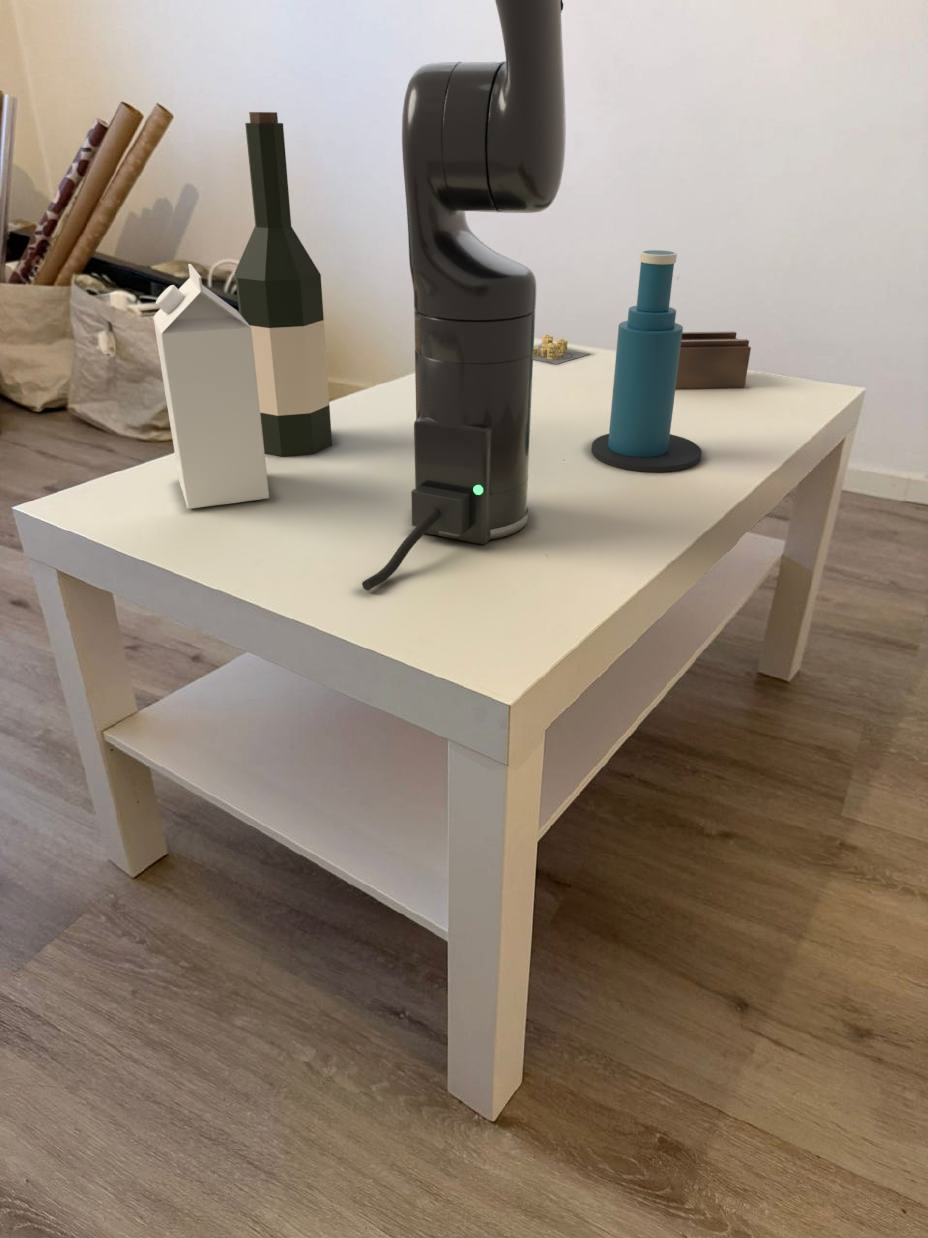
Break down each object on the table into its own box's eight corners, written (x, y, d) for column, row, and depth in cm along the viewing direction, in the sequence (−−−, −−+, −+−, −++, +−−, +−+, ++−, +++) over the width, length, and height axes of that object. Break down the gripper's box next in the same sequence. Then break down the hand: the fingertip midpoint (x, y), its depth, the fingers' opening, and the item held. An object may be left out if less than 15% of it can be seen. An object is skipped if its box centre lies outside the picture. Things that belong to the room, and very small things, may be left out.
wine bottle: (340, 431, 97) (321, 111, 82) (322, 458, 90) (297, 113, 75) (265, 428, 98) (232, 111, 83) (241, 454, 91) (200, 111, 76)
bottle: (676, 455, 90) (618, 459, 89) (655, 436, 95) (600, 439, 94) (702, 256, 80) (638, 257, 80) (677, 247, 86) (616, 248, 85)
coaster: (687, 479, 86) (688, 473, 85) (577, 461, 90) (577, 456, 89) (711, 444, 94) (711, 439, 94) (609, 430, 98) (609, 424, 98)
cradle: (725, 373, 120) (732, 329, 117) (744, 387, 114) (752, 342, 111) (651, 374, 119) (656, 330, 116) (667, 389, 113) (672, 343, 110)
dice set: (546, 347, 131) (546, 334, 130) (574, 353, 128) (575, 339, 127) (524, 353, 128) (524, 339, 127) (552, 360, 125) (553, 345, 124)
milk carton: (256, 473, 86) (232, 261, 77) (270, 500, 80) (246, 274, 71) (179, 482, 84) (144, 265, 74) (187, 511, 78) (151, 279, 69)
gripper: (482, -139, 77) (479, 83, 85) (502, -185, 64) (497, 80, 72) (570, -137, 77) (558, 84, 85) (606, -182, 65) (589, 81, 73)
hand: (530, 82), depth 79 cm, fingers open, 8 cm apart
